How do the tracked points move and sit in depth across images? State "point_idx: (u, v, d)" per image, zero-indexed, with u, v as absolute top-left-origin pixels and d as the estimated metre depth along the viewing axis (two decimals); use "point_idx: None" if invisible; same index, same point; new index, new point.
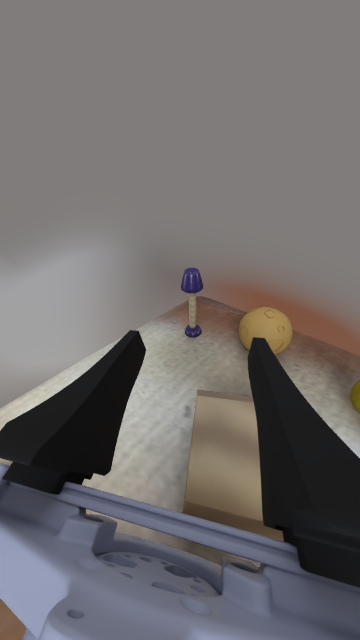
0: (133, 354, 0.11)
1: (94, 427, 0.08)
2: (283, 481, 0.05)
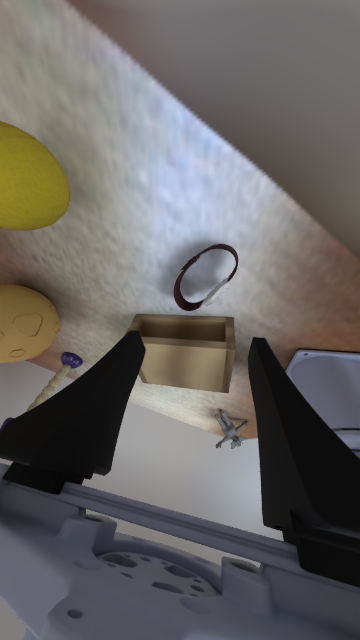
0: (133, 354, 0.11)
1: (94, 427, 0.08)
2: (283, 481, 0.05)
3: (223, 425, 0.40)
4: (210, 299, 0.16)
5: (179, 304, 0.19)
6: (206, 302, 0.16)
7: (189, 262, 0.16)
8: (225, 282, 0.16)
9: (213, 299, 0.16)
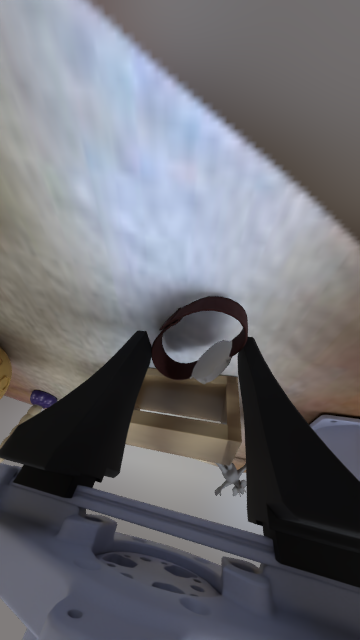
0: (141, 355, 0.11)
1: (105, 429, 0.08)
2: (262, 476, 0.06)
3: (223, 469, 0.35)
4: (203, 381, 0.10)
5: (160, 369, 0.13)
6: (198, 380, 0.11)
7: (170, 323, 0.10)
8: (227, 355, 0.10)
9: (208, 380, 0.10)
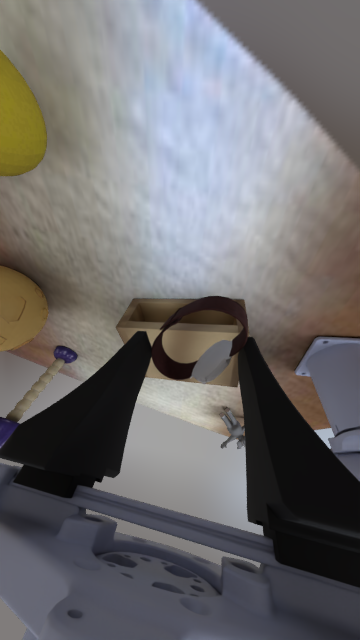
0: (140, 355, 0.11)
1: (105, 429, 0.08)
2: (262, 476, 0.06)
3: (228, 424, 0.38)
4: (203, 381, 0.10)
5: (160, 369, 0.13)
6: (198, 379, 0.11)
7: (170, 323, 0.10)
8: (227, 355, 0.10)
9: (208, 379, 0.10)
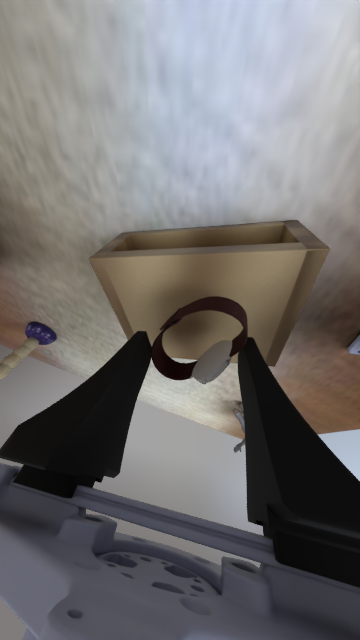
0: (140, 355, 0.11)
1: (105, 429, 0.08)
2: (262, 476, 0.06)
3: None
4: (203, 381, 0.10)
5: (160, 369, 0.13)
6: (197, 380, 0.11)
7: (170, 323, 0.10)
8: (227, 355, 0.10)
9: (208, 380, 0.10)
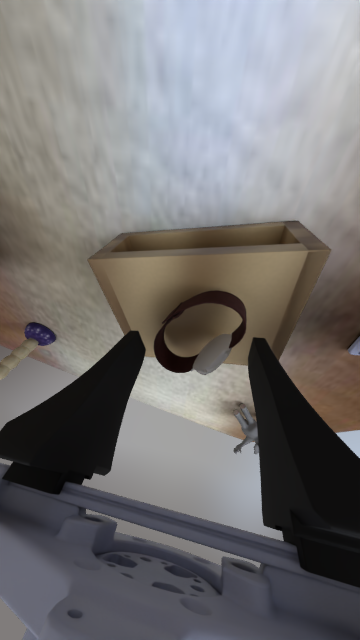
0: (133, 354, 0.11)
1: (94, 427, 0.08)
2: (283, 481, 0.05)
3: (244, 423, 0.31)
4: (204, 372, 0.10)
5: (162, 362, 0.13)
6: (198, 371, 0.11)
7: (172, 316, 0.10)
8: (226, 347, 0.10)
9: (208, 371, 0.11)
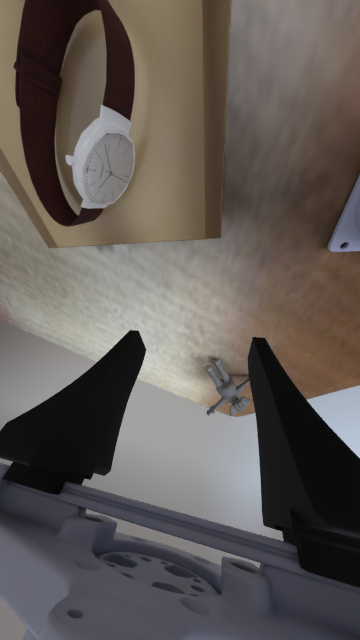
0: (133, 354, 0.11)
1: (94, 427, 0.08)
2: (283, 481, 0.05)
3: (218, 380, 0.27)
4: (68, 158, 0.06)
5: (54, 215, 0.10)
6: (75, 182, 0.07)
7: (17, 68, 0.06)
8: (104, 115, 0.06)
9: (80, 163, 0.07)
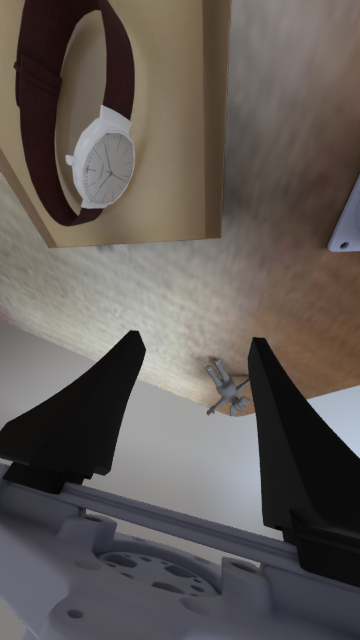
0: (133, 354, 0.11)
1: (94, 427, 0.08)
2: (283, 481, 0.05)
3: (218, 380, 0.27)
4: (68, 158, 0.06)
5: (54, 215, 0.10)
6: (75, 182, 0.07)
7: (17, 68, 0.06)
8: (104, 115, 0.06)
9: (80, 163, 0.07)
